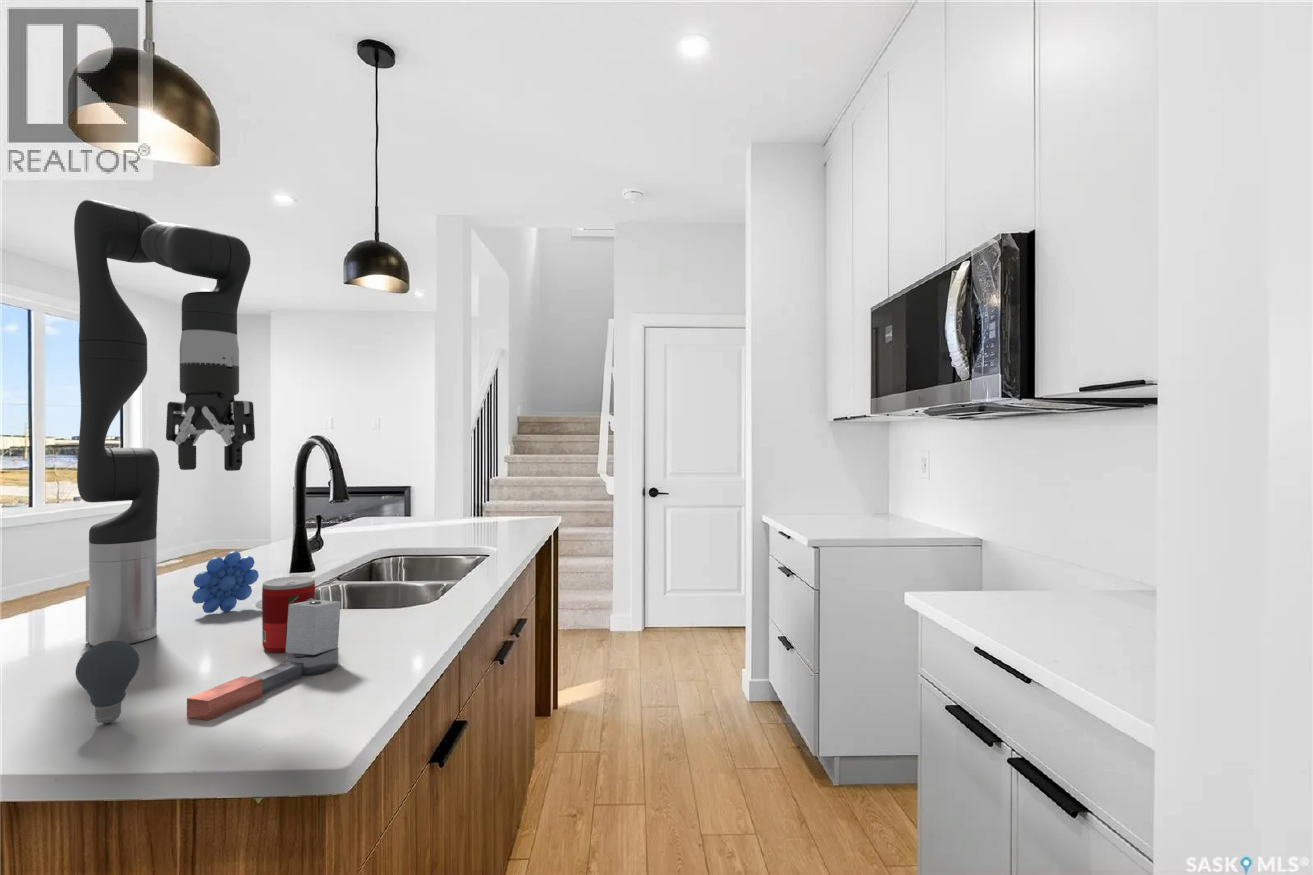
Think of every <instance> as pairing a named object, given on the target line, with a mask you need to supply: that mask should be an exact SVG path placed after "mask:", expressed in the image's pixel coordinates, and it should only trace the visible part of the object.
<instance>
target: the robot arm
mask: <svg viewBox="0 0 1313 875" xmlns="http://www.w3.org/2000/svg"><path fill="white" fill-rule="evenodd" d="M73 221H74V224H73V230H74V231H73V232H74V233H73V234H74V235H73V236H74V237H73V238H74V247H75V256H76V257H75V258H76V267H77V268H76V269H77V277H78V290H79V321H78V322H79V328H78V329H79V331H78V332H79V333H78V366H79V368H78V369H79V390H80V422H79V423H80V424H79V436H78V451H77V453H78V454H77V469H76V484H77V490H78V494H79V495H80V498H81V499H82V500H83V501H84V502H86V503H108V502H113V503H114V502H126V501H131V504H130V506H129V507H128V508H127V509H126V510H124V511H123V512H122V513H120V514H118V515H116V516H114V517H112V518H109V519H107V520H104V521H100V522H97V523H95V524H93V525H91V527H90V528H89V531H88V579H89V580H88V585H87V586H86V587H85V642H87V643H88V644H89V645H90V646H91V647H93V646H95V645H97V644H99V643H102V642H106V641H122V642H125V643H128V644H129V645H131V644H134V643H139V642H143V641H147V640H149V639H151V638H154V637H157V634H158V631H157V630H158V625H157V624H158V622H157V621H158V618H157V617H158V585H157V584H158V571H157V570H158V563H157V562H158V557H157V556H158V555H157V554H158V552H157V550H158V548H157V545H158V544H157V537H158V536H157V535H158V534H157V527H158V500H159V499H158V498H159V487H160V463H159V459H158V458H159V457H158V455H157V453H156V452H155V450H153V449H152V448H149V447H108V448H107V447H106V438H107V434H108V433H109V429H110V427H111V424H112V422H113V421H114V419H115V418H116V416H117V415H118V414H119V412H120V410H122V408H123V406H124V405H125V404H126V403H127V402H128V400H129V399H130V398H131V397H132V395H134V394H135V392H136V391H137V390H138V389H139V387H140V386H141V385H142V383H143V382H144V380H145V378H146V376H147V373H148V338H147V334H146V332H145V330H144V328H143V327H142V326H143V325H141V323H140V321H139V320H138V319H137V317H136V316H135V315H134V314H135V313H133V311H132V310H131V309H130V307H129V306H128V305H127V303H126V302H125V301H124V299H123V298H122V296H121V295H120V294H119V291H118V290H117V288H116V286H115V285H114V282H113V279H112V276H111V273H110V272H111V271H110V269H109V265H108V259H110V260H115V261H119V262H127V263H134V264H143V263H144V264H145V263H146V264H147V263H148V264H149V263H156V264H158V265H160V266H163V267H166V268H168V269H169V268H170V269H171V270H172V271H175V272H177V273H181V274H184V275H185V274H186V275H190V276H195V277H200V278H205V279H211V280H216V285H215V287H214V289H213V290H209V291H191V292H187V293H186V294H184V295H183V296H182V299H181V338H180V342H179V391H180V392H181V394H183V395H185V400H184V401H183V402H182V401H168V403H167V408H166V410H167V411H166V430H165V439H166V440H167V441H170V442H174V443H175V444H176V445H177V453H178V455H177V458H178V459H177V460H178V462H177V463H178V466H179V469H180V470H181V471H192V470H195V469H196V468H197V445H196V442H198V440H199V438H200V436H202V435H204V434H205V433H206V431H214V432H215V433H217V434H218V435H220V436H221V438H222V440H223V441H224V443H225V444H226V445H224V447H223V448H224V449H223V451H224V456H223V457H224V467H223V468H224V470H225V471H227V472H232V471H240V470H241V469H242V468H241V467H242V466H243V446H244V445H245V444H246V443H248V442H254V440H255V439H256V438H255V437H256V434H255V433H256V432H255V429H256V428H255V413H254V411H255V410H254V402H253V401H249V400H236V399H235V396H237V395H238V394H239V393H240V348H239V341H238V307H239V304H240V299H241V295H242V292H243V289H244V285H245V282H246V280H247V277H248V273H249V271H250V268H251V254H250V250H249V248H248V246H247V245H246V243H245V242H244V241H243V240H241V239H240V238H238V237H236V236H234V235H229V234H226V233H225V234H224V233H220V232H216V231H213V230H207V229H203V228H200V227H196V226H191V225H186V224H177V223H171V222H161V221H159V220H158V219H156V218H154V217H153V216H150V215H149V214H148V213H147V214H146V213H144V212H142V211H141V210H137V209H133V208H129V207H124V206H120V205H117V204H112V203H108V202H104V201H99V200H94V199H85V200H83V201H81V202H80V203H79V205H78V206H77V208H76V211H75V215H74V220H73ZM176 426H178V431H177V432H176ZM244 427H245V431H244Z"/></svg>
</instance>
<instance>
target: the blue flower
mask: <svg viewBox="0 0 1313 875" xmlns="http://www.w3.org/2000/svg"><path fill="white" fill-rule="evenodd" d="M255 562H256V561H255V559H254V557H253V556H249V555H248V556H247V555H246V556H243V557H242V556H241V552H238V551H236V550H235V551H230V552H228V553H227V554H225V556H224V558H222V557H219V556H215V557H213V558H211V559H210V560H208V562H207V564H206V571H200V572H199V573H198V574H196V575H195V577H194V579H193V584H194V587H196V588H197V589H196V590H195V591H194V592H193V594H192V595H191V599H192V602H193V604H194V603H195V604H203V605H202V607H201V608H202V611H203V612H204V613H206V614H212V613H214V612H216V611H217V610H218V609H220V611H222V612H224V613H225V612H230V611H232V610H233V609H234V608H236V606H237V603H238V601H246V600H247V599H248V598H250V597H251V595H252V592H253V590H252V586H251V585H253V584H255V583H256V582H257V581H258V579H259V576H260V575H259V572H258V570H256V569H252V568H254V565H255Z"/></svg>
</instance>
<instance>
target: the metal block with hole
mask: <svg viewBox="0 0 1313 875" xmlns="http://www.w3.org/2000/svg"><path fill="white" fill-rule="evenodd" d="M341 603H342V602H341V601H337V600H336V601H335V600H334V601H333V600H323V599H322V600H321V599H315V600H310V601H305V602H299V603H294V604H289V608H288V623H287V637H286V653H285V654H287V653H297V654H307V655H316V654H319V653H322V652H326V651H329V650H333V649H336V648H338V649H339V638H340V637H339V635H340V618H341Z"/></svg>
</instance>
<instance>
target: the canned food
mask: <svg viewBox="0 0 1313 875" xmlns="http://www.w3.org/2000/svg"><path fill="white" fill-rule="evenodd" d="M310 600H316V581H315V578H314V577H312V576H306V575H305V576H304V575H303V576H302V575H301V576H299V575H297V576H295V575H293V576H284V577H276V578H271V579H269V580H266V581H264V582H263V583H262V587H261V610H262V611H261V614H262V616H261V617H262V618H261V620H262V621H261V622H262V624H261V626H262V632H261V634H262V638H261V639H262V641H261V642H262V647H263V650H264V651H265V652H267V653H272V654H287V653H286V637H287V623H288V608H289V604H294V603H299V602H305V601H310Z"/></svg>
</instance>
